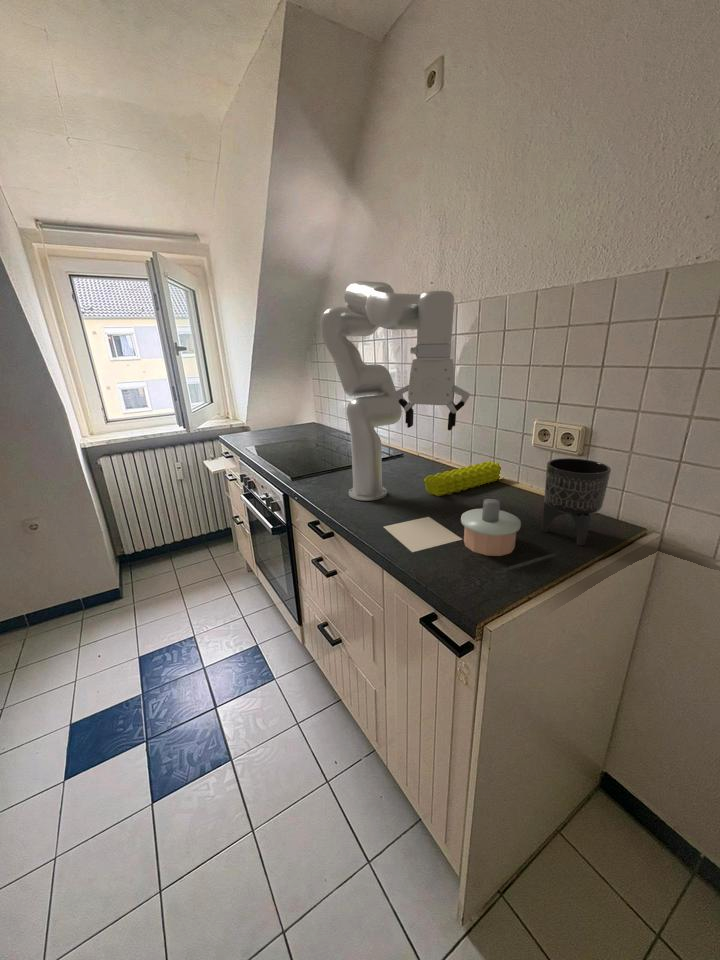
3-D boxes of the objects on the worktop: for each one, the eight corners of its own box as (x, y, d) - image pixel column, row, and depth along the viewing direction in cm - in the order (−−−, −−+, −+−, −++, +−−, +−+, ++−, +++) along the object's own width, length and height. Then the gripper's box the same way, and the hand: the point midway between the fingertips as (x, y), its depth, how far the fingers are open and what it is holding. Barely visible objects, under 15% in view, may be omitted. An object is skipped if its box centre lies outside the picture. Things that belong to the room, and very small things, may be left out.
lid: (449, 517, 90) (450, 497, 88) (492, 507, 95) (494, 488, 93) (486, 540, 79) (488, 517, 77) (533, 527, 83) (536, 506, 82)
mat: (383, 528, 99) (383, 526, 99) (428, 518, 104) (428, 516, 104) (412, 554, 86) (412, 552, 86) (462, 541, 91) (462, 539, 91)
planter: (611, 545, 87) (625, 472, 81) (557, 549, 86) (568, 475, 80) (576, 521, 99) (586, 456, 93) (528, 525, 98) (536, 459, 93)
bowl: (454, 541, 91) (455, 518, 89) (490, 531, 95) (492, 510, 93) (485, 562, 82) (487, 537, 80) (524, 551, 86) (527, 527, 84)
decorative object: (421, 494, 122) (421, 474, 120) (491, 476, 139) (492, 457, 136) (436, 501, 116) (437, 479, 114) (507, 481, 133) (509, 461, 131)
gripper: (391, 353, 84) (390, 428, 90) (471, 353, 78) (464, 433, 84) (400, 352, 90) (399, 422, 96) (475, 352, 85) (468, 426, 91)
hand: (429, 427), depth 90 cm, fingers open, 9 cm apart
